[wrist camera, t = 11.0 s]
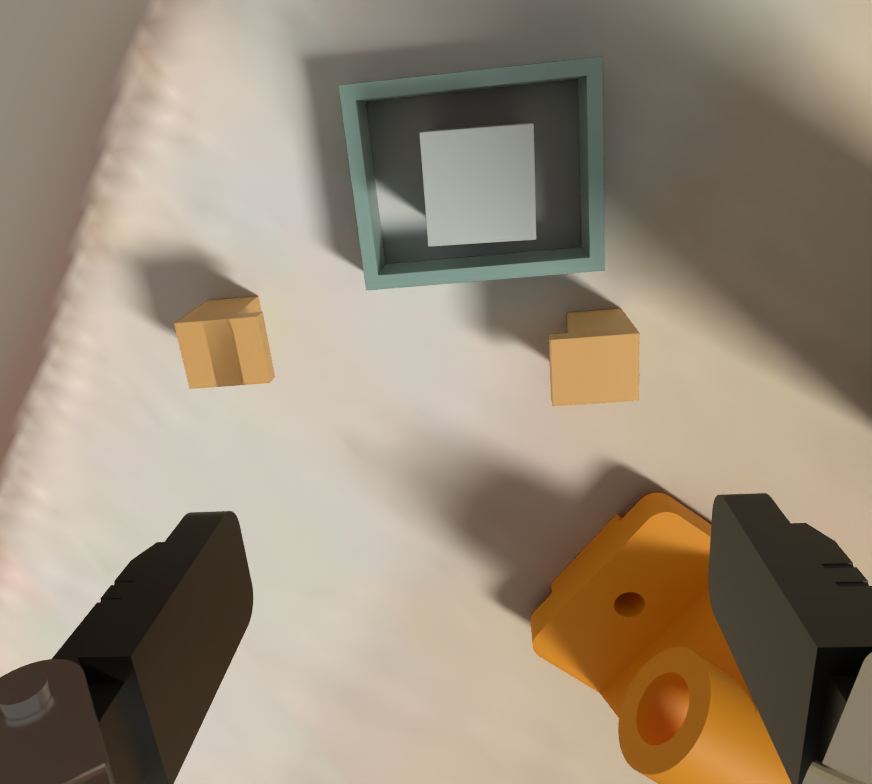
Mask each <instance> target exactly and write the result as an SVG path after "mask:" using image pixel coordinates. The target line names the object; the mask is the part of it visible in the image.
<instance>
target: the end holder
mask: <svg viewBox="0 0 872 784" xmlns="http://www.w3.org/2000/svg"><path fill="white" fill-rule="evenodd" d="M570 79H578V94H579V141H580V188H581V234H582V247H578V248H567V249H555V250H544V251H532V252H520V253H509V254H497V255H486V256H474V257H462V258H451V259H439V260H428V261H416V262H404V263H393V264H385V258H384V250H383V242H382V234H381V226H380V217H379V209H378V201H377V193H376V185H375V177H374V169H373V161H372V153H371V144H370V136H369V128H368V120H367V112H366V104H365V101H374V100H383V99H393V98H402V97H411V96H421V95H430V94H439V93H449V92H458V91H467V90H477V89H486V88H495V87H505V86H514V85H523V84H532V83H542V82H551V81H560V80H570ZM338 86H339V93H340V100H341V108H342V115H343V123H344V130H345V137H346V145H347V152H348V160H349V167H350V174H351V182H352V189H353V197H354V204H355V211H356V219H357V226H358V234H359V241H360V248H361V256H362V263H363V271H364V278H365V285H366V290H377V289H389V288H401V287H413V286H425V285H437V284H449V283H461V282H473V281H485V280H497V279H509V278H521V277H533V276H545V275H557V274H569V273H581V272H593V271H605V260H604V158H603V56H602V57H592V58H583V59H574V60H565V61H556V62H547V63H538V64H529V65H520V66H510V67H501V68H492V69H483V70H474V71H465V72H456V73H447V74H437V75H428V76H419V77H410V78H401V79H392V80H383V81H374V82H365V83H355V84H346V85H338Z"/></svg>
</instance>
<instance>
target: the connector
mask: <svg viewBox="0 0 872 784" xmlns="http://www.w3.org/2000/svg"><path fill="white" fill-rule="evenodd" d="M420 146H421V159H422V171H423V184H424V197H425V210H426V223H427V236H428V247H430V246H445V245H460V244H475V243H491V242H506V241H521V240H536V204H535V159H534V124H533V123H527V122H517V123H505V124H492V125H479V126H467V127H454V128H441V129H430V130H427V131H423V132H420Z"/></svg>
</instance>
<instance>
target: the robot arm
mask: <svg viewBox="0 0 872 784" xmlns="http://www.w3.org/2000/svg"><path fill="white" fill-rule="evenodd" d="M708 589H709V597H710V602H711V606H712V610H713V613H714V616H715V618H716V620H717V623H718V625H719V627H720V629H721V631H722V633H723V636H724V638H725V640H726V642H727V644H728V646H729V649H730V651H731V653H732V655H733V657H734V659H735V662H736V664H737V666H738V668H739V670H740V673H741V675H742V677H743V679H744V681H745V683H746V686H747V688H748V690H749V692H750V694H751V696H752V699H753V701H754V703H755V705H756V707H757V710H758V712H759V714H760V716H761V718H762V720H763V723H764V725H765V727H766V729H767V731H768V733H769V736H770V738H771V740H772V742H773V744H774V747H775V749H776V751H777V753H778V755H779V757H780V760H781V762H782V764H783V766H784V768H785V770H786V773H787V775H788V777H789V779H790V781H791V784H872V586H869V585H868V581H867V579H866V578H865V577H864V576H863V575H862V573H861V572H860V571H859V570H858V569H857V567H853V563H852V561H851V560H850V559H849V558H848V556H847V555H846V554H845V553H844V552H843V550H842V549H841V548H840V547H839V546H838V544H837V543H836V542H835V541H834V540H832V539H830V538H829V537H827V536H826V535H824V534H822V533H821V532H819V531H818V530H816V529H814V528H813V527H811V526H810V525H808V524H806V523H792V524H791V523H790V522H789V521H788V519H787V518H786V517H785V515H784V514H783V513H782V511H781V510H780V509H779V507H778V506H777V505H776V503H775V502H774V501H773V500H772V498H771V497H770V496H769V495H768V494H766V493H759V494H731V495H717V496H716V498H715V500H714V504H713V511H712V525H711V539H710V554H709V568H708ZM252 608H253V588H252V582H251V577H250V573H249V568H248V563H247V558H246V553H245V549H244V544H243V539H242V534H241V529H240V525H239V521H238V518H237V516H236V515H235V513H233V512H232V511H221V512H193V513H188V514H186V515H185V516H184V517H183V519H182V520H181V521H180V523H179V524H178V525H177V527H176V528H175V529H174V530H173V532H172V533H171V534H170V536H169V537H168V538H167V540H166V541H165V542H157V543H155V544H154V545H153V546H151V547H150V548H148V549H147V550H145V551H144V552H143V553H141V554H140V555H138V556H137V557H135V558H134V559H133V560H131V561H130V563H129V564H128V565H127V566H126V567H125V569H124V570H123V571H122V572H121V574H120V575H119V576H118V577H117V579H116V580H115V584H114V585H111V586H110V587H109V589H108V590H107V591H106V592H105V594H104V595H103V596H102V597H101V602H100V603H96V605H95V606H94V607H93V608H92V610H91V611H90V612H89V613H88V615H87V616H86V617H85V618H84V620H83V621H82V622H81V623H80V625H79V626H78V627H77V628H76V630H75V631H74V632H73V633H72V635H71V636H70V637H69V638H68V639H67V641H66V642H65V643H64V644H63V646H62V647H61V648H60V649H59V651H58V652H57V653H56V654H55V656H54V657H53V658H52V659H49V660H43V661H38V662H35V663H31V664H28V665H25V666H23V667H20V668H18V669H16V670H13V671H11V672H9V673H8V674H6V675H4V676H2V677H0V784H174V781H175V779H176V777H177V775H178V773H179V771H180V769H181V767H182V765H183V762H184V760H185V758H186V756H187V754H188V752H189V750H190V748H191V745H192V743H193V741H194V739H195V737H196V735H197V733H198V731H199V728H200V726H201V724H202V722H203V720H204V718H205V716H206V714H207V711H208V709H209V707H210V705H211V703H212V701H213V699H214V697H215V694H216V692H217V690H218V688H219V686H220V684H221V682H222V680H223V677H224V675H225V673H226V671H227V669H228V667H229V665H230V663H231V660H232V658H233V656H234V654H235V652H236V650H237V648H238V646H239V644H240V641H241V639H242V637H243V635H244V633H245V631H246V629H247V627H248V624H249V622H250V618H251V614H252Z"/></svg>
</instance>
